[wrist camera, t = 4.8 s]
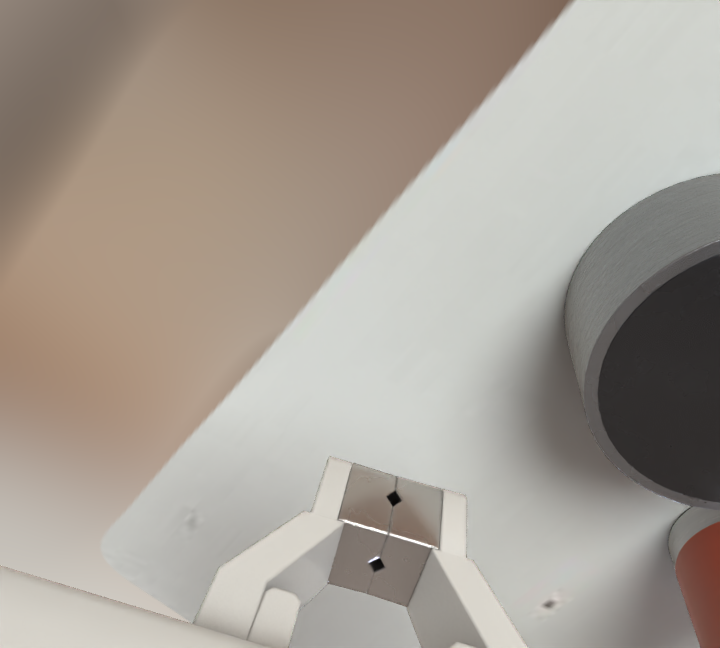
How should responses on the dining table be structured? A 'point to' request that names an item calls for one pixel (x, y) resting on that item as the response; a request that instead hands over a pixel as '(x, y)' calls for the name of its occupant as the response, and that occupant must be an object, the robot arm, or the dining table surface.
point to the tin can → (699, 570)
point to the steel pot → (654, 341)
